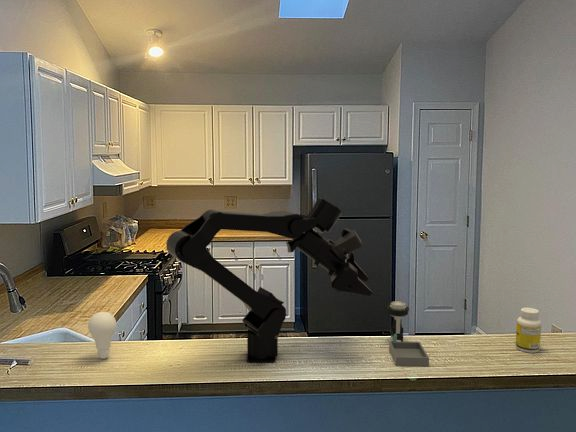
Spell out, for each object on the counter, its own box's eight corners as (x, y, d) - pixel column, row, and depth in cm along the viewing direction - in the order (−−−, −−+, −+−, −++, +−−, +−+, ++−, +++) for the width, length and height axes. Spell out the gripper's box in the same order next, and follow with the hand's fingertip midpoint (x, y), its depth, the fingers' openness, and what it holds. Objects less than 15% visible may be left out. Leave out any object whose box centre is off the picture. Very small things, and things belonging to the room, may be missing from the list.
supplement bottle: (518, 343, 135) (520, 305, 133) (541, 348, 132) (544, 309, 130) (512, 349, 130) (515, 310, 129) (537, 355, 127) (540, 315, 126)
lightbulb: (123, 356, 125) (121, 310, 124) (104, 366, 120) (102, 318, 118) (103, 351, 128) (101, 306, 126) (83, 361, 123) (81, 314, 121)
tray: (395, 365, 121) (396, 357, 121) (389, 349, 130) (389, 341, 130) (428, 366, 121) (429, 357, 121) (419, 349, 130) (419, 342, 130)
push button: (409, 348, 131) (411, 309, 129) (387, 348, 131) (388, 308, 130) (406, 338, 137) (407, 300, 136) (384, 338, 138) (386, 300, 136)
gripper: (340, 233, 117) (396, 275, 119) (337, 212, 135) (386, 249, 137) (309, 271, 119) (364, 312, 121) (310, 246, 137) (358, 282, 139)
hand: (369, 286), depth 129 cm, fingers open, 9 cm apart
